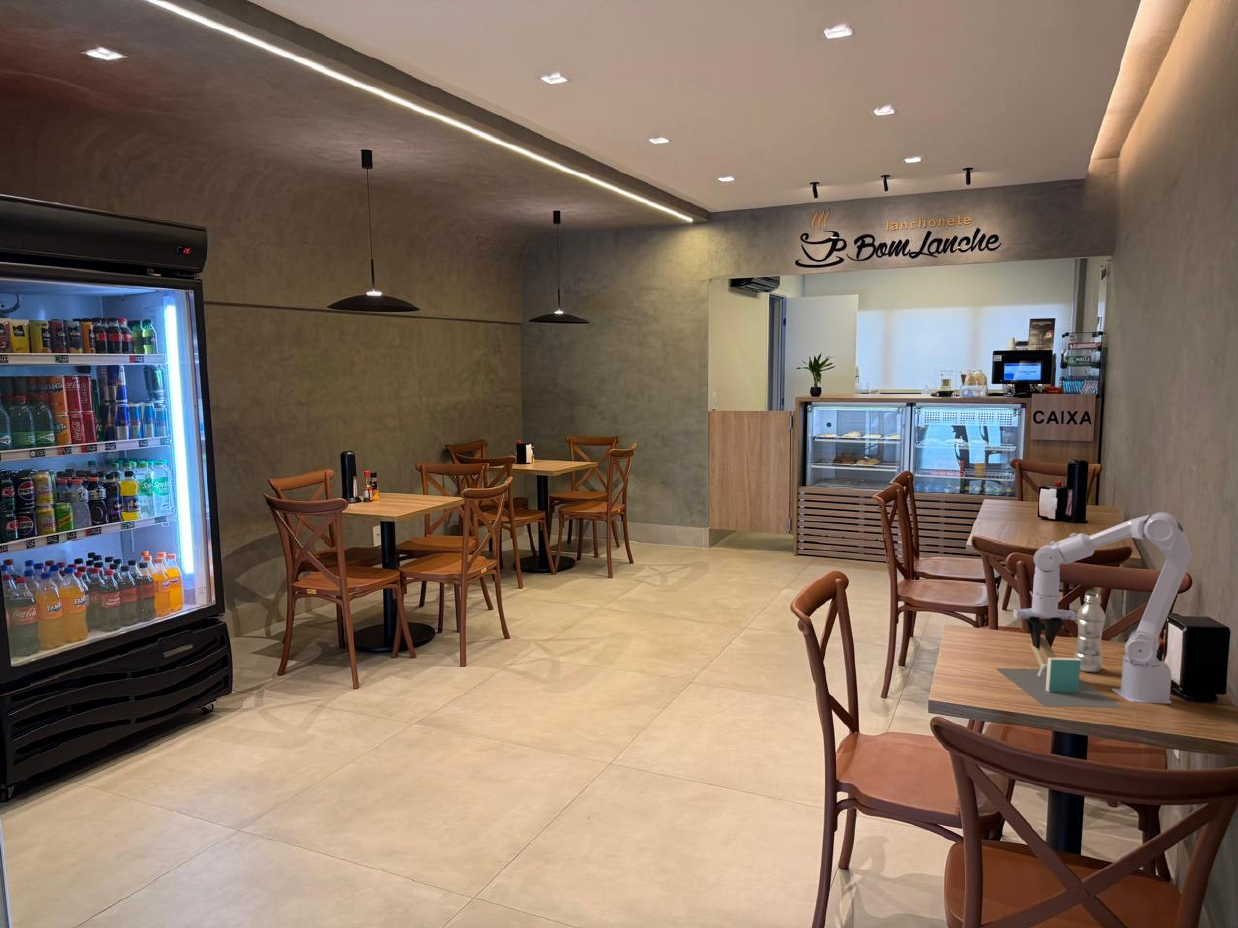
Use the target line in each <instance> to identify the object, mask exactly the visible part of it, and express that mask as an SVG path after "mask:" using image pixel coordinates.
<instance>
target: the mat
mask: <svg viewBox="0 0 1238 928" xmlns="http://www.w3.org/2000/svg"><path fill="white" fill-rule="evenodd" d="M994 669H995V670H996V671H998V672H999V673H1000V674H1002V675H1003V676H1004V677H1006V679H1008V680H1010V681H1011V682H1012V683H1013V684H1014V685H1016V686H1017V687H1018V688H1020V689H1021V690H1022V691H1024V693H1027V695H1029V696H1030V697H1032V698H1033V699H1034V700H1035V701H1037V702H1038V703H1039V704H1040V705H1042V706H1043V707H1060V708H1062V707H1063V708H1064V707H1067V708H1068V707H1069V708H1108V709H1109V708H1111V709H1112V708H1116V709H1117V708H1118V709H1124V707H1123V706H1121V705H1120V704H1118V703H1117V702H1115V701H1114V700H1112V699H1111V698H1109V697H1107V696H1106V695H1105V694H1103V693H1101V692H1100V691H1099V690H1097V689H1095V688H1094V687H1093V686H1091V685H1090V684H1088V683H1087V682H1085V681H1083V680H1082V679H1080V678H1079V688H1078V693H1069V692H1048V691H1046V678H1047V677H1038V672H1039V670H1040V668H1011V667H1010V668H1006V667H1005V668H1002V667H1000V668H999V667H995V668H994Z"/></svg>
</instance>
